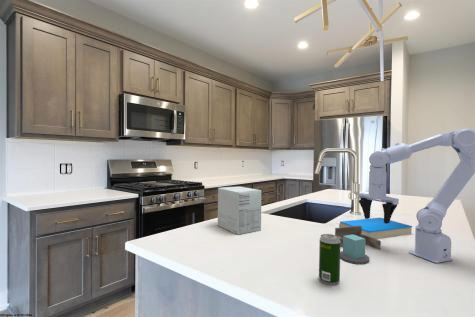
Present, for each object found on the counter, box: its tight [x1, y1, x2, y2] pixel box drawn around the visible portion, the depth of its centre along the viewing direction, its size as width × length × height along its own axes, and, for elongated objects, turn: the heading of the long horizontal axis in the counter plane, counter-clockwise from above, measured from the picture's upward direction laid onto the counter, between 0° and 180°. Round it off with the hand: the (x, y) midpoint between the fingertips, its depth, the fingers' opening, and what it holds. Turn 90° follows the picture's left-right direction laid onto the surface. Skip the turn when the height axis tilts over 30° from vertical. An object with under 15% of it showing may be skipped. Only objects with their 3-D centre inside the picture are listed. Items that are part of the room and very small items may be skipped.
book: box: [338, 217, 413, 240], centre depth 119 cm, size 17×4×25 cm
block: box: [342, 235, 366, 259], centre depth 88 cm, size 5×4×6 cm
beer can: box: [318, 233, 341, 286], centre depth 72 cm, size 5×5×12 cm
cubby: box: [334, 226, 382, 250], centre depth 99 cm, size 10×12×6 cm
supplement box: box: [217, 186, 262, 235], centre depth 122 cm, size 17×13×18 cm
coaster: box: [340, 250, 370, 265], centre depth 88 cm, size 9×9×1 cm
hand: (376, 220), depth 98 cm, fingers open, 7 cm apart
